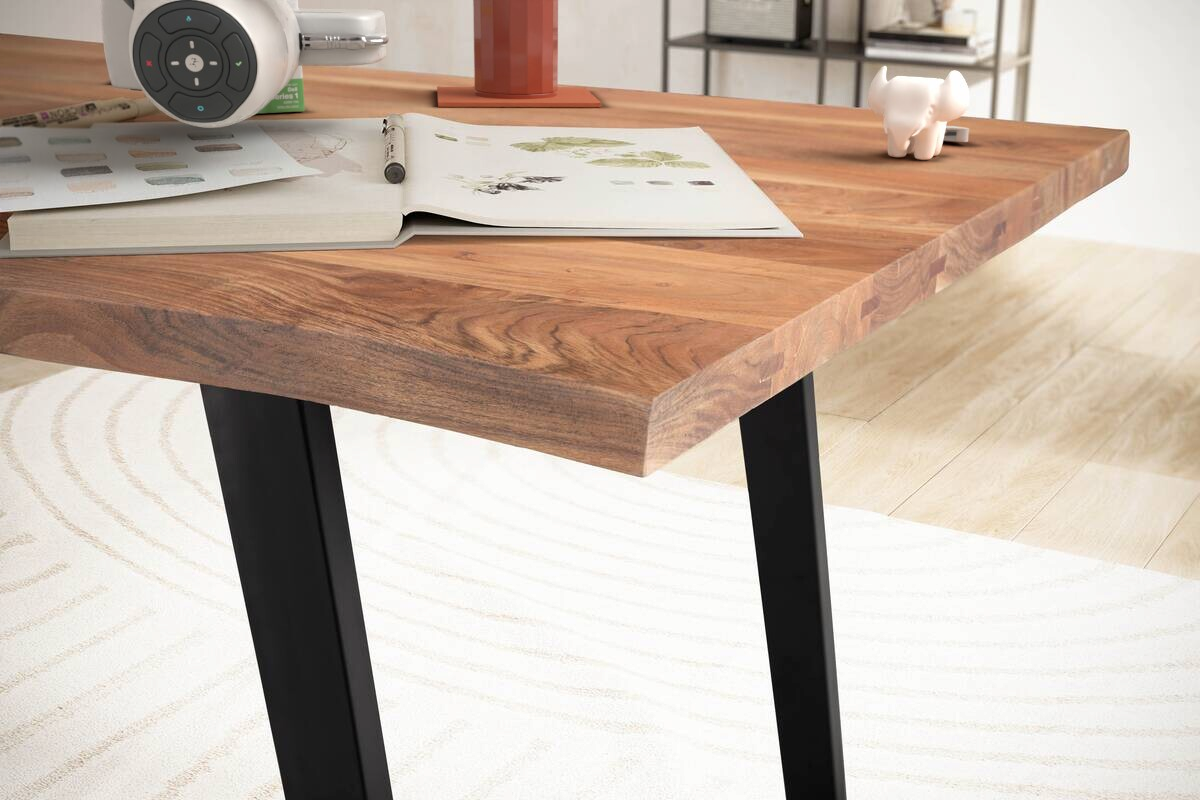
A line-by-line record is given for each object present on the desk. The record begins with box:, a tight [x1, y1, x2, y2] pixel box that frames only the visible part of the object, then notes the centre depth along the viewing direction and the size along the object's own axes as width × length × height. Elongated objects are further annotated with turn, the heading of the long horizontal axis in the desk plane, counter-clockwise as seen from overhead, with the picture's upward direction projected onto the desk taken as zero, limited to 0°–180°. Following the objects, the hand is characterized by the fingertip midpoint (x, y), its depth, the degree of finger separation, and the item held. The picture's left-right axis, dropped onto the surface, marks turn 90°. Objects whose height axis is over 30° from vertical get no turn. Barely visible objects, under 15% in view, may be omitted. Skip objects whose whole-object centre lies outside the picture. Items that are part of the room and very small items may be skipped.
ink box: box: [255, 0, 306, 115], centre depth 104 cm, size 8×5×12 cm, turn 30°
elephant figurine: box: [867, 65, 970, 161], centre depth 86 cm, size 7×8×6 cm
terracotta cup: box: [472, 0, 559, 99], centre depth 114 cm, size 7×7×9 cm
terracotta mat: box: [436, 86, 602, 108], centre depth 115 cm, size 14×12×1 cm
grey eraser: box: [943, 125, 970, 143], centre depth 95 cm, size 6×2×1 cm, turn 24°
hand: (259, 28), depth 101 cm, fingers open, 8 cm apart
